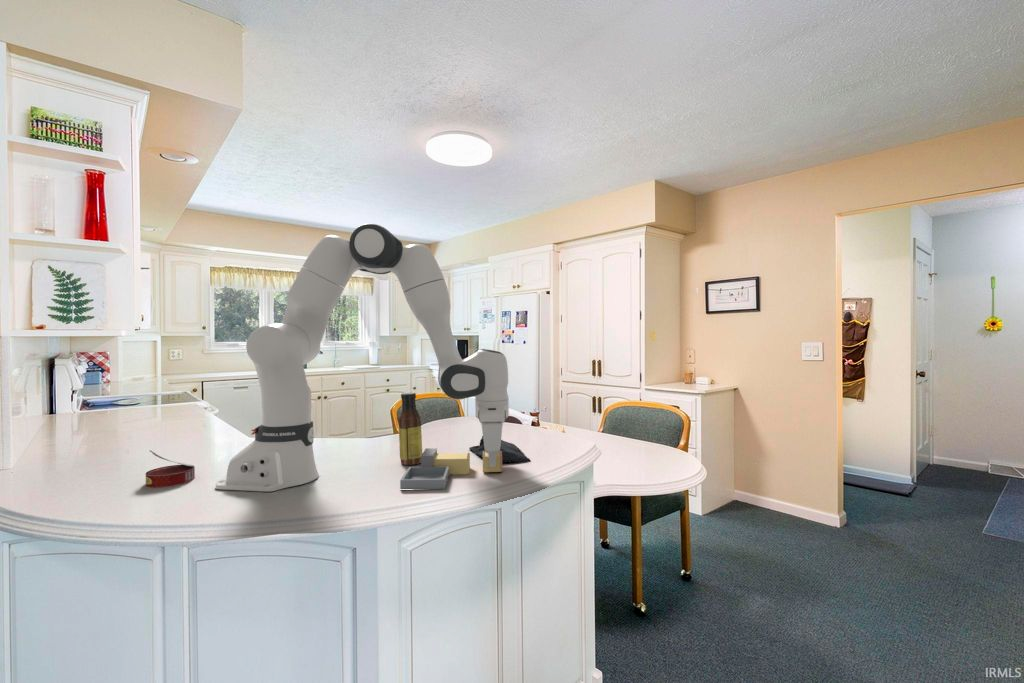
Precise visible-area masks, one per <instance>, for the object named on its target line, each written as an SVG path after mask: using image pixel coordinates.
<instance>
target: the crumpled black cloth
mask: <svg viewBox="0 0 1024 683" xmlns="http://www.w3.org/2000/svg"><path fill="white" fill-rule="evenodd" d="M468 449H469V450H470V451H471V450H472V451H471V452H472V453H475V455H476V456H477V455H478V456H477V457H481V459H483V451H485V448H484V441H483V435H482V436H481V439H480V441H479V445H473V446H471V447H469V448H468ZM500 451H502V463H503V462H515V463H516V462H523V463H528V462H527V461H529V462H532V460H531V459H530V458H529V457H527V456H526V455H525V453H524V452H523V451H522V449H520V448H519V447H518V446H517V445H515V444H514V443H512V442H509V441H505V440H503V439H501V446H500Z"/></svg>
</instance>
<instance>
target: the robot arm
mask: <svg viewBox="0 0 1024 683" xmlns="http://www.w3.org/2000/svg"><path fill="white" fill-rule="evenodd" d="M357 271H361V272H365V273H371V274H375V275H387V274H389V273H390V274H391V273H393V274H394V275H395V276H396V278H397V279H398V281H399V284H400V286H401V289H402V291H403V295H404V297H405V300H406V303H407V304H408V307H409V308H410V310H411V311H412V313H413V315H414V317H415V318H416V319H417V321H418V322H419V323H420V325H421V326H422V327H423V329H424V330H425V332H426V333H427V335H428V338H429V340H430V342H431V346H432V348H433V351H434V353H435V354H434V355H435V356H436V359H437V363H438V374H437V380H438V385H439V387H440V389H441V390H442V392H443V393H444V395H445V396H447V397H449V398H450V399H452V400H459V401H461V400H466V399H467V398H468V399H469V398H472V397H474V398H475V399H474V400H475V401H474V402H475V409H474V410H475V418H477V419H478V421H479V423H480V425H481V431H482V436H483V441H484V448H485V452H486V453H488V455H489V466H490V467H495V466H496V455H497V453H499V452H500V446H501V440H502V434H503V425H504V423H505V421H506V419H507V418H509V415H510V414H509V413H510V412H509V411H510V410H509V407H510V405H509V394H508V386H509V366H508V360H507V357H506V355H505V354H503V353H502V352H501V351H497V350H493V349H486V348H480V349H478V350H477V351H475V352H474V353H473V354H471V355H469V356H467V357H465V358H462V356H461V355H460V352H459V349H458V346H457V344H456V340H455V338H454V335H453V333H452V329H451V323H450V322H451V321H450V318H451V316H450V315H451V306H452V305H451V299H450V293H449V289H448V284H447V283H446V280H445V278H444V274H443V272H442V270H441V268H440V266H439V263H438V261H437V258H435V256H434V254H433V252H432V251H431V249H430V248H429V247H428V246H427V245H425V244H422V243H421V244H420V243H412V244H408V245H403V242H402V241H401V240H400V239H399V238H397V237H396V236H395V235H394V234H393V233H391V231H390V230H388V229H387V228H385V227H384V226H382V225H379V224H376V223H364V224H362V225H359V226H358V227H356V228H355V229H354V230H353V232H352V233H351V235H350V237H349V239H346V238H344V237H342V236H339V235H335V234H328V235H326V236H324V237H322V238H321V239H320V240H319V242H318V243H317V244H316V245H315V246H314V248H313V249H312V250H311V251H310V253H309V255H308V256H307V258H306V259H305V261H304V263H303V264H302V267H301V268H300V270H299V271H298V274H297V276H296V277H295V279H294V281H293V283H292V285H291V286H290V289H289V290H288V292H287V295H286V299H287V301H286V307H285V310H284V314H283V318H282V320H281V322H280V323H279V322H272V323H267V324H265V325H262V326H260V327H257V328H256V329H254V330H253V331H252V332H251V333H250V334H249V336H248V337H247V340H246V353H247V355H248V357H249V359H250V360H251V361H252V362H253V365H254V368H255V371H256V375H257V379H258V382H259V386H260V394H261V418H262V419H261V422H262V424H260V425H258V426H257V427H255V428H254V429H251V430H250V431H251V435H254V436H255V437H254V440H253V441H252V442H251V443H249V444H248V445H247V446H246V447H244V448H243V449H241V450H240V451H239V452H238V453H236V454H235V455H234V456H233V457H232V458H231V459H230V460H229V463H228V466H227V472H226V475H225V476H223V477H222V478H220V479H218V480H217V482H216V483H215V490H229V491H247V492H248V491H250V492H268V493H270V492H277V491H280V490H282V489H286V488H290V487H291V488H292V487H296V486H300V485H304V484H307V483H310V482H312V481H315V480H316V479H317V478H319V476H320V474H319V471H318V469H317V464H316V461H315V455H314V454H315V453H314V447H313V443H314V438H315V437H314V436H315V432H314V431H315V430H314V421H312V390H311V388H310V386H309V384H308V381H307V376H306V373H305V366H306V365H307V364H309V363H311V362H312V361H313V360H315V358H316V357H317V356H318V355H319V353H320V350H321V343H322V340H323V337H324V334H325V332H326V329H327V325H328V322H329V319H330V317H331V315H332V313H333V311H334V309H335V307H336V305H337V303H338V301H339V299H340V297H341V296H342V294H343V292H344V290H345V288H346V286H347V284H348V283H349V281H350V279H351V277H352V276H353V275H354V273H355V272H357Z"/></svg>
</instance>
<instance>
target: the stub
mask: <svg viewBox="0 0 1024 683" xmlns="http://www.w3.org/2000/svg"><path fill="white" fill-rule="evenodd" d="M499 472H501V473H502V472H503V462H502V451H500V452H499V453H497V455H496V466H495V467H490V466H489V455H488V453H486V452H485V451H483V458H482V473H499Z"/></svg>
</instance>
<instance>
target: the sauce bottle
mask: <svg viewBox="0 0 1024 683" xmlns="http://www.w3.org/2000/svg"><path fill="white" fill-rule="evenodd" d="M400 399H401V403H402V406H401V411H400V414H399V417H398V441H399V459H400V463H401V465H404V466H415V465H419V464H421V455H422V454H423V438H422V437H423V436H422V421H421V416H420V414H419V412H418V410H417V405H416V404H417V403H416V399H417V393H416V392H402V393H401V394H400Z"/></svg>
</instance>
